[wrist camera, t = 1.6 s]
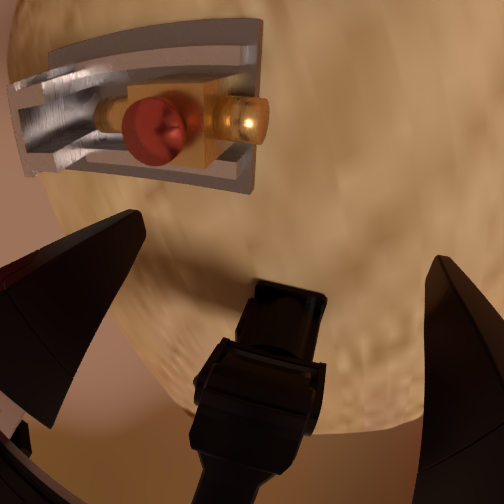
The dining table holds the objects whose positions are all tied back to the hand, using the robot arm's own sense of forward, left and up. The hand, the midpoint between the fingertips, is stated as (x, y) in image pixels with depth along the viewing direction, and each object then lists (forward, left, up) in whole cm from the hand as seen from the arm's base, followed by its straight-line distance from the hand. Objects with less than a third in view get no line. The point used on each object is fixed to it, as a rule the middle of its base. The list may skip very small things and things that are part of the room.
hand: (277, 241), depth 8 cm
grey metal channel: (+14, -1, -12) cm, 18 cm away
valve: (+8, -1, -11) cm, 14 cm away
